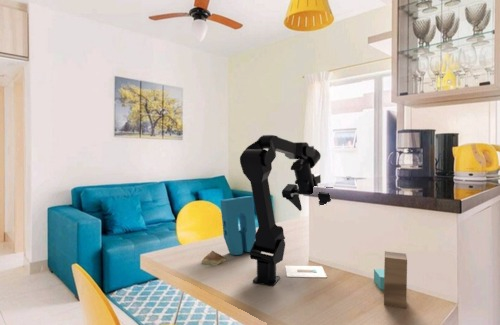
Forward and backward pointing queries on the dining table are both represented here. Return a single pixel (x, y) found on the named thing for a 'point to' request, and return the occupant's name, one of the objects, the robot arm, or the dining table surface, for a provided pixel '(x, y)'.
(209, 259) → the shard
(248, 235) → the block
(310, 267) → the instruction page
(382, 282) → the teal base block
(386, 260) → the walnut brick
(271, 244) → the robot arm
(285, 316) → the dining table surface
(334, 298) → the dining table surface
